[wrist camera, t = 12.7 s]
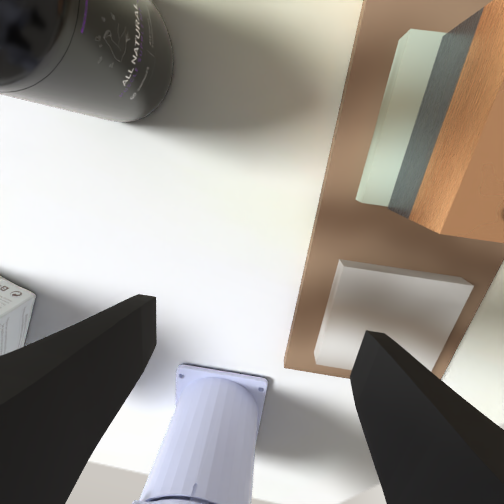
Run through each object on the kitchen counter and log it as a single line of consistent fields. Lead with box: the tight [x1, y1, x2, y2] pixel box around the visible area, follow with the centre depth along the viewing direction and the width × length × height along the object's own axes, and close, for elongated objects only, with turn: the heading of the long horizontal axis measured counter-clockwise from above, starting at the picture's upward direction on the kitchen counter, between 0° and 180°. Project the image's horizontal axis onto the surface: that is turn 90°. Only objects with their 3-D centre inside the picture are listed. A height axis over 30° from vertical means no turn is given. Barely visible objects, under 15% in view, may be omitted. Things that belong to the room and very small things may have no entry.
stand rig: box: [284, 0, 504, 380], centre depth 16 cm, size 24×12×2 cm, turn 173°
